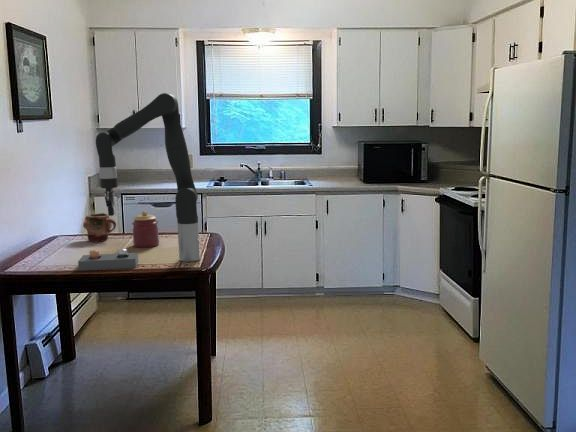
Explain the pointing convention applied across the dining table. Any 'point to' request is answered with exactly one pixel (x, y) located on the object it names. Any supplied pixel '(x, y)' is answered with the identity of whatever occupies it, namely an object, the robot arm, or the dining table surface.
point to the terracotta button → (94, 254)
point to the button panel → (108, 262)
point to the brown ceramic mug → (98, 226)
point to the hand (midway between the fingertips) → (111, 215)
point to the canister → (145, 231)
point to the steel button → (122, 252)
